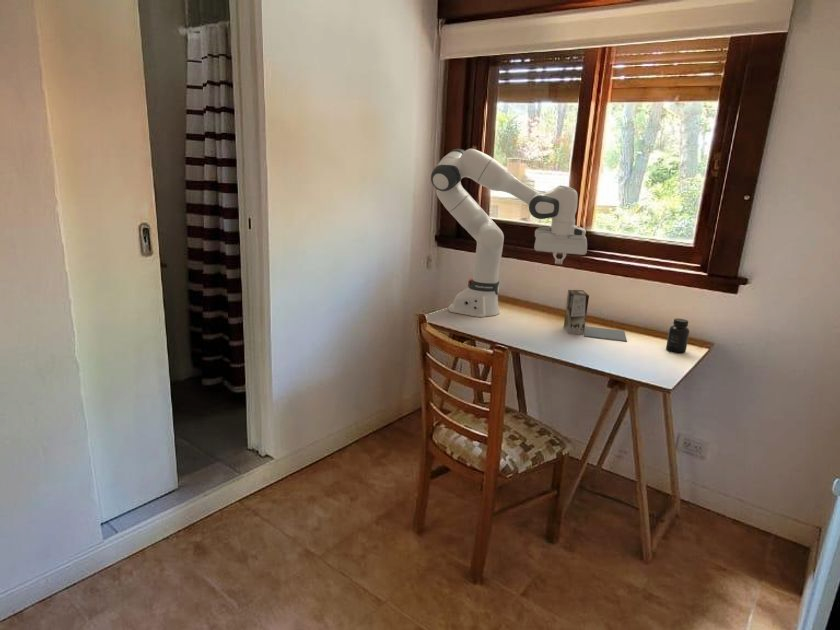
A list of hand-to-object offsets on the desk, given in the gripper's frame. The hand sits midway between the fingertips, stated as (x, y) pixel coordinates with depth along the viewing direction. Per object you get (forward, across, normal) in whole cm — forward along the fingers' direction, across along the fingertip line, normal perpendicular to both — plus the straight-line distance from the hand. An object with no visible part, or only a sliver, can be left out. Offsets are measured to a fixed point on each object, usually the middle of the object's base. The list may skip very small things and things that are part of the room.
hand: (558, 263), depth 218 cm
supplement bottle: (+27, +46, -10) cm, 54 cm away
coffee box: (+27, +9, 0) cm, 28 cm away
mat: (+27, +21, 0) cm, 34 cm away
